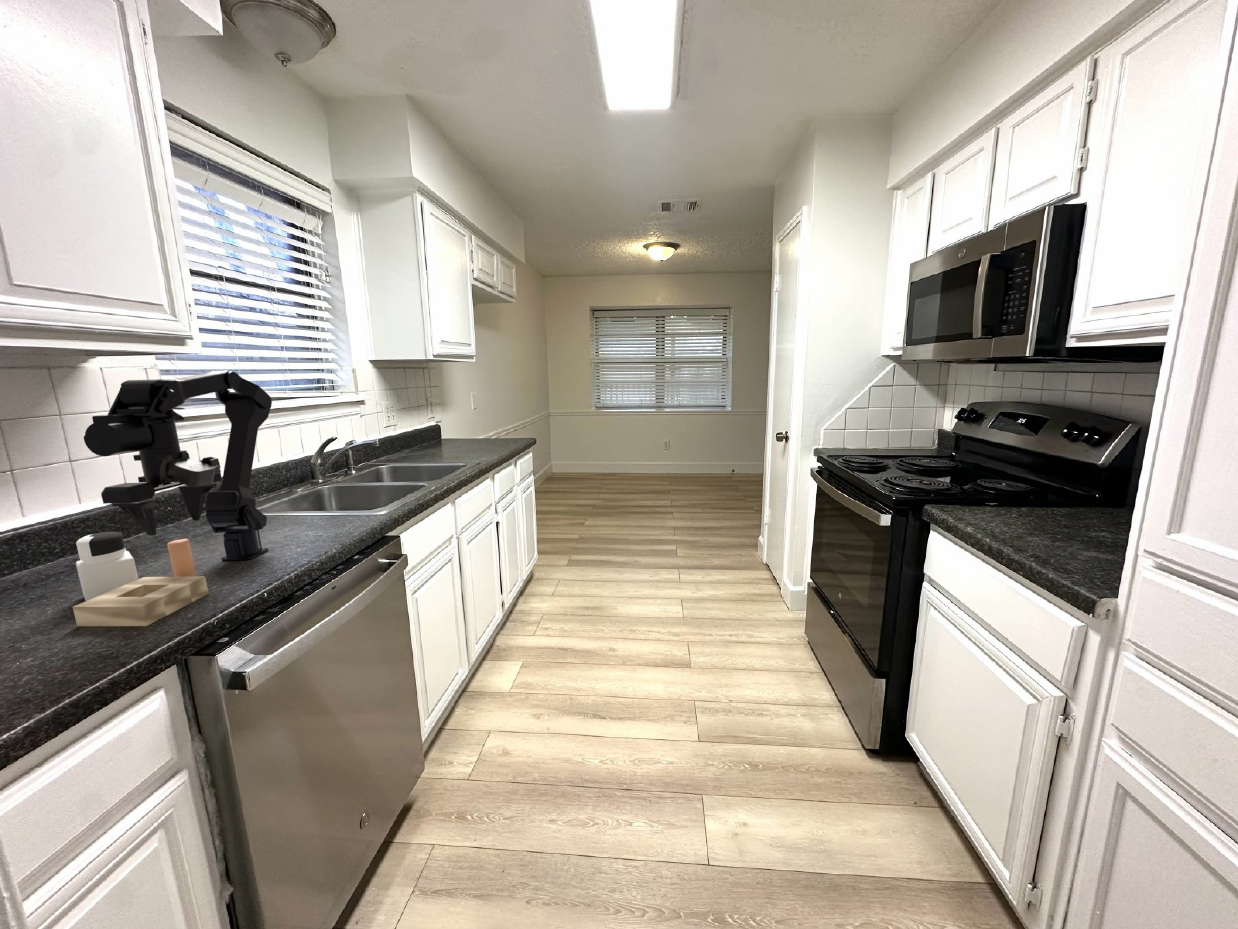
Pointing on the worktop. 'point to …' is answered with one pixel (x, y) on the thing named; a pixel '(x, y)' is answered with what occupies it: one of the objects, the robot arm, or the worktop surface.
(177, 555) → the peg
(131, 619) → the socket block
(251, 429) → the robot arm
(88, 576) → the medicine bottle
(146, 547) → the worktop surface
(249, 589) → the worktop surface
